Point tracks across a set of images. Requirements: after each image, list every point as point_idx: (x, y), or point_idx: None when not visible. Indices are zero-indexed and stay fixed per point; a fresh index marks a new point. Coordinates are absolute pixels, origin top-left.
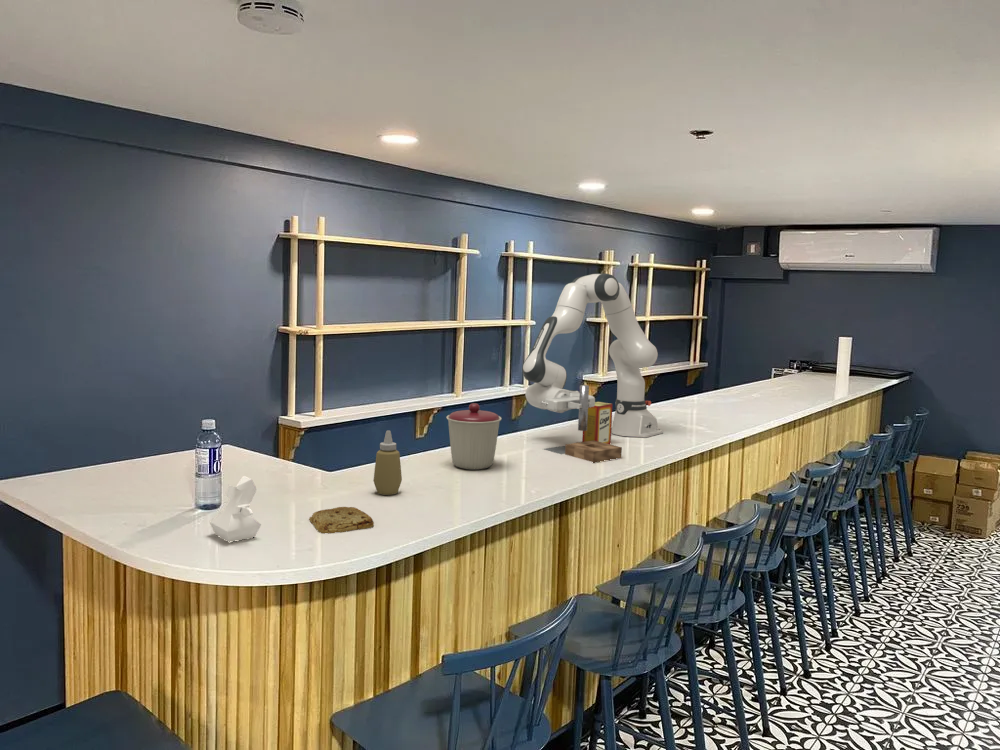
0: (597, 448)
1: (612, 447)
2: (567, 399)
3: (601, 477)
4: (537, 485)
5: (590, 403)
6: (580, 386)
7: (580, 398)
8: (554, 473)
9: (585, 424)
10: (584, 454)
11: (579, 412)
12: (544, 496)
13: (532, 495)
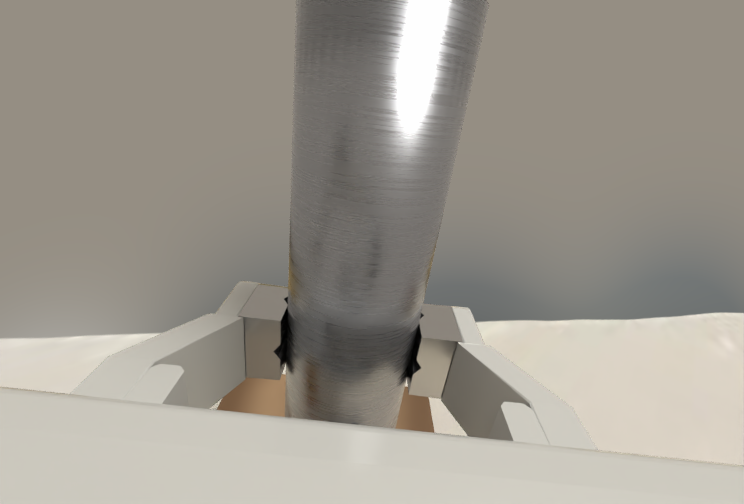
0: None
1: (275, 390)
2: (643, 496)
3: (500, 323)
4: (716, 364)
5: (257, 285)
6: (483, 24)
7: (434, 250)
8: (643, 414)
9: None
10: None
11: (396, 419)
12: (694, 316)
13: (727, 330)
